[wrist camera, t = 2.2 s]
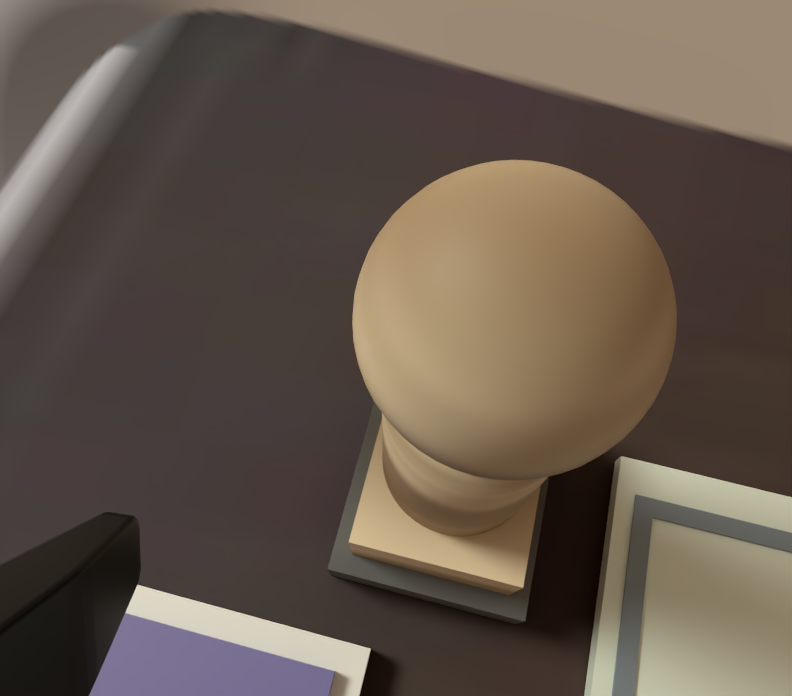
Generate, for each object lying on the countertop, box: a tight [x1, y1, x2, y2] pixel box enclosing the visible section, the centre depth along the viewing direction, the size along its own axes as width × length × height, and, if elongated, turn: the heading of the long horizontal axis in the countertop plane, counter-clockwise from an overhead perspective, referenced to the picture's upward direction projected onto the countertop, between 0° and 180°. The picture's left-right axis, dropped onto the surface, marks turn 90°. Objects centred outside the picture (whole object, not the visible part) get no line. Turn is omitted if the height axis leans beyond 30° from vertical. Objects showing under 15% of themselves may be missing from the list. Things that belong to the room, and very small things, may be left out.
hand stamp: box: [328, 160, 677, 624], centre depth 14 cm, size 6×5×13 cm
